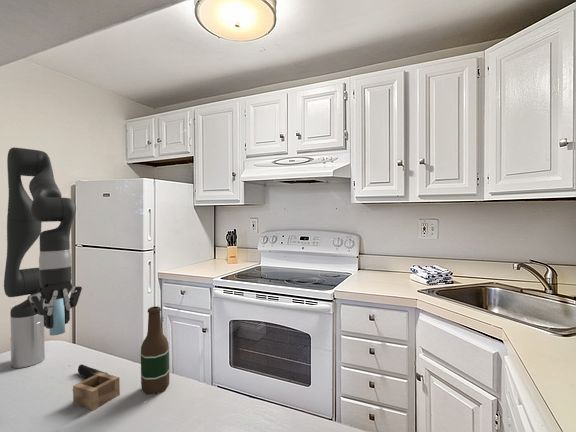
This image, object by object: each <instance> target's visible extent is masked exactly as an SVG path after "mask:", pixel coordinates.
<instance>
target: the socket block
mask: <svg viewBox="0 0 576 432" xmlns="http://www.w3.org/2000/svg"><path fill="white" fill-rule="evenodd" d="M105 373H106V372H104V373H101V372H100V373H98V374H96V375H94V376H92V377H90V378H88V379H86V378H85V379H84V380H82V381H80V382H78V383H76V384H74V385H72V395H73V397H72V400H73V405H76V406H79V407H82V408H84V409H86V410H87V409H88V410H90V411H94V410H97V409H99V408H100V407H102V406H104V405H105V404H107V403H108V402H110V401H112V400H113V399H115V398H117V397H118V396H120V395H121V394H120V393H121V392H120V391H121V388H120V386H121V383H120V376H116V375H113V374H109V373H108V374H105Z"/></svg>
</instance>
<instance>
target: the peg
mask: <svg viewBox="0 0 576 432" xmlns="http://www.w3.org/2000/svg"><path fill="white" fill-rule="evenodd" d="M49 303H50V302H49ZM51 315H53V328H51V329H49V336H58V335H62V334H64V333H66V324H65V310H64V298H60V299H56V302H55V306H54V307H53V311H52V314H51Z"/></svg>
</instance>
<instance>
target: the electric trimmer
mask: <svg viewBox="0 0 576 432" xmlns="http://www.w3.org/2000/svg"><path fill="white" fill-rule="evenodd" d="M77 372H78V373H79V374H80V375H81V376H82V377H83V378H84V379H85V380H86V379H88V378H90V377H92V376H94V375H96V374H98V373H100V372H101V373H105V374H109V373H108V372H104V371H101V370H98V369H96V368H93V367H90V366H87V365H85V364H79V365H78V368H77Z"/></svg>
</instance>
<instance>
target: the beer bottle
mask: <svg viewBox="0 0 576 432" xmlns="http://www.w3.org/2000/svg"><path fill="white" fill-rule="evenodd" d="M161 311H162V308H161V307H160V306H151V307H148V309H147V313H148V316H147V317H148V319H147V320H148V321H147V333H146V336H145V338H144V339H143V341H142V343H141V347H140V386H141V387H140V388H141V391H142V392H143V393H144V394H145V395H147V396H149V395H158V394H160V393H162V392H165V391H166V390H167V389H168V387H169V385H170V346H169V345H170V344H169V341H168V339H167V337H166V336H165V335H164V333H163V329H162V319H161V318H162V317H161Z"/></svg>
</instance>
